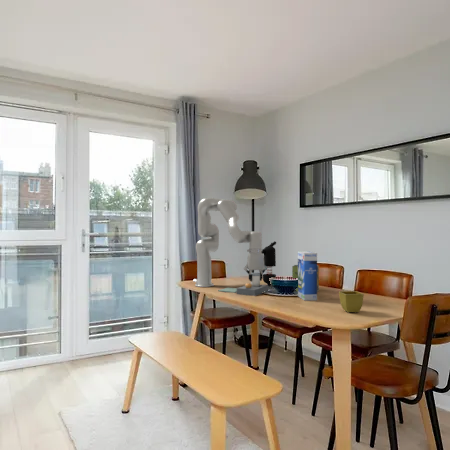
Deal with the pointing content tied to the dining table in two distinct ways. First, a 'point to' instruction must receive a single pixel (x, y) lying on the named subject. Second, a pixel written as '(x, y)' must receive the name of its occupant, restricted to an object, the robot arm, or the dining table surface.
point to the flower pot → (351, 300)
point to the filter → (269, 261)
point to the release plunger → (248, 285)
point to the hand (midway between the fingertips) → (255, 280)
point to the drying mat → (229, 290)
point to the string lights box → (307, 275)
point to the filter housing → (252, 290)
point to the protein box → (295, 274)
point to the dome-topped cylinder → (255, 279)
